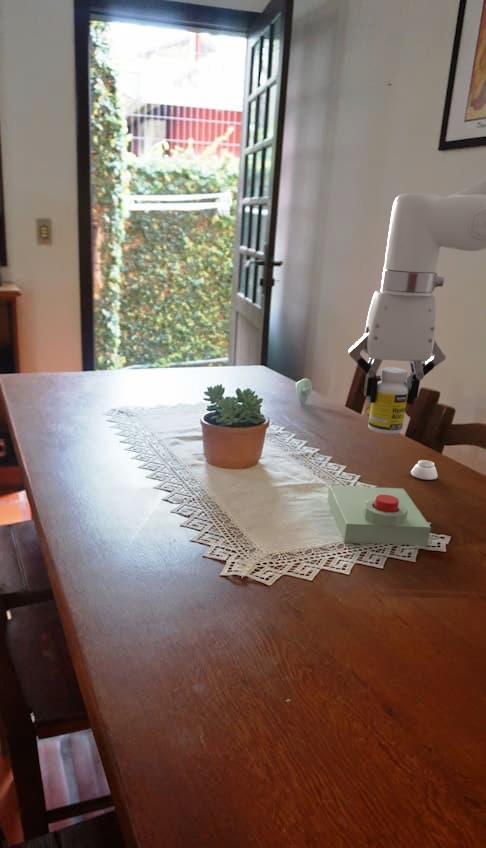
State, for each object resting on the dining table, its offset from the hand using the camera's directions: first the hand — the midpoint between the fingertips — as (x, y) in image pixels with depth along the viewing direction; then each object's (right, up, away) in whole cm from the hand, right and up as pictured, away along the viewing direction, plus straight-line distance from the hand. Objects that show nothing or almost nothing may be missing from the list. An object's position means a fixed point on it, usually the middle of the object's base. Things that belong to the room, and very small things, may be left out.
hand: (389, 400), depth 109 cm
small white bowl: (+14, -12, +25) cm, 31 cm away
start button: (-1, -17, -3) cm, 18 cm away
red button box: (-1, -20, +4) cm, 20 cm away
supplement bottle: (0, -5, +2) cm, 5 cm away
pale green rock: (-3, +10, +74) cm, 75 cm away
